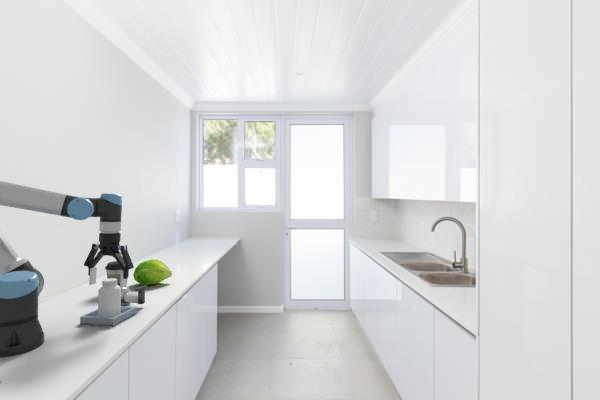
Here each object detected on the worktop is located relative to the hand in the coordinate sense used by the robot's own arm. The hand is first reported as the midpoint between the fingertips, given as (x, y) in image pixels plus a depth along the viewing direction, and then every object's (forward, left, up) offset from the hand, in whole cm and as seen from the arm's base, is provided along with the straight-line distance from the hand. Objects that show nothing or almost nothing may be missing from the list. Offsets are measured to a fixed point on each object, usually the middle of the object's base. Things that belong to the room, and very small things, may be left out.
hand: (107, 285), depth 136 cm
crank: (+17, +2, -12) cm, 20 cm away
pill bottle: (0, -1, -13) cm, 13 cm away
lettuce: (+52, +14, -14) cm, 56 cm away
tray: (0, 0, -13) cm, 13 cm away
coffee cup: (+34, +22, -14) cm, 43 cm away
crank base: (+22, +7, -13) cm, 27 cm away
